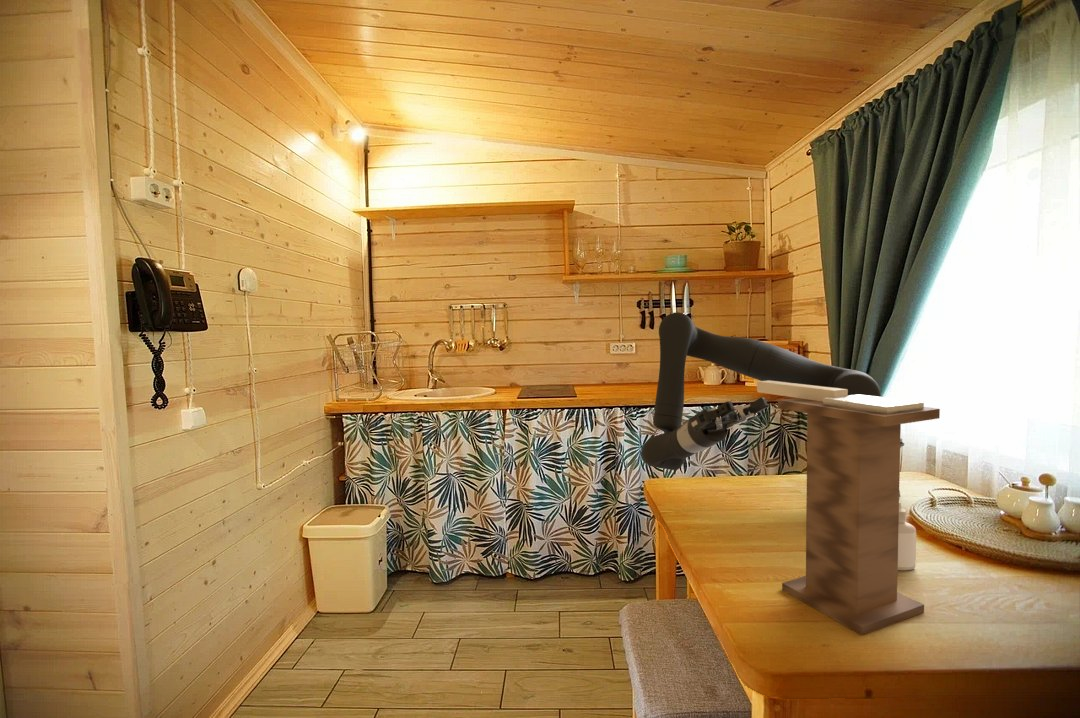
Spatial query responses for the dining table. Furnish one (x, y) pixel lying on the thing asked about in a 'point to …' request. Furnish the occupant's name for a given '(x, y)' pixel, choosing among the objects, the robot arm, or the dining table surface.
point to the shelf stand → (853, 514)
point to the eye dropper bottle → (906, 543)
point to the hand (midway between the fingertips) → (748, 403)
